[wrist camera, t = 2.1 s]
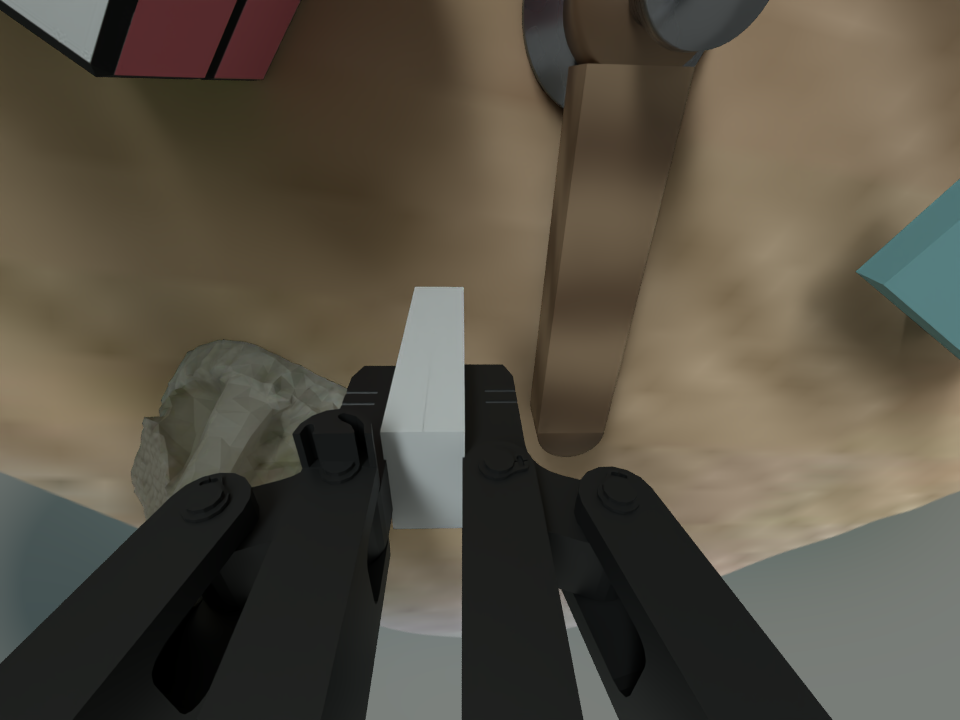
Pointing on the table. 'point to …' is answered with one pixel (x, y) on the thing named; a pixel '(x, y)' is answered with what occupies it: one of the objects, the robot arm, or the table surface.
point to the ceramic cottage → (228, 420)
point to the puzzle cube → (161, 35)
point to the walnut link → (602, 214)
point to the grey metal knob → (655, 6)
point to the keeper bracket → (925, 269)
